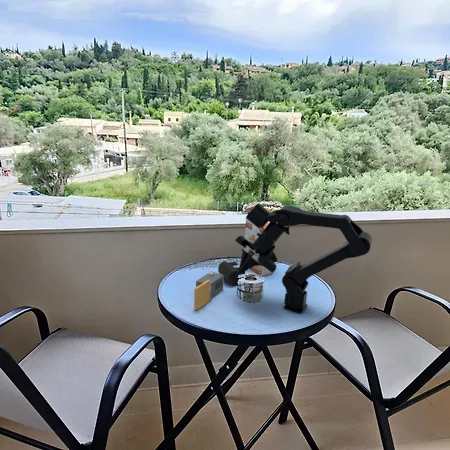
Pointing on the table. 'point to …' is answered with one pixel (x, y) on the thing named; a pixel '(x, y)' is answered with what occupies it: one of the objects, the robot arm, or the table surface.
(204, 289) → the door
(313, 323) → the table surface
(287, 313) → the table surface
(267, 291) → the table surface
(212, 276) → the block
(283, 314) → the table surface
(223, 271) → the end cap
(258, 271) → the cracker box
